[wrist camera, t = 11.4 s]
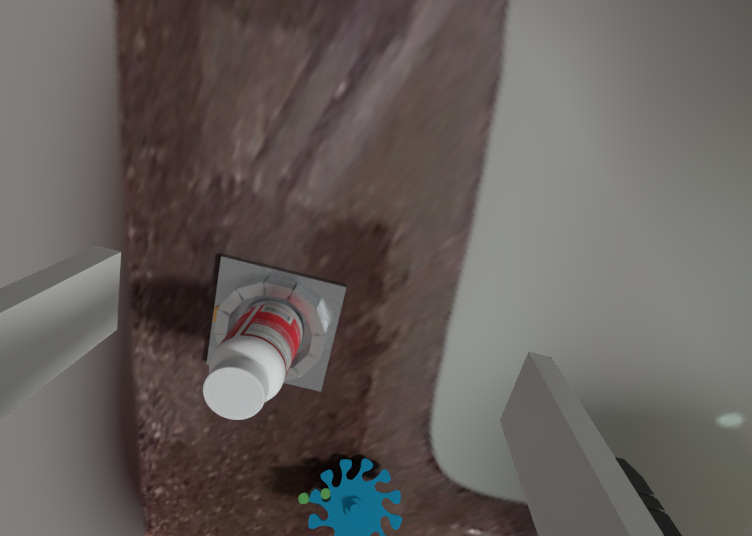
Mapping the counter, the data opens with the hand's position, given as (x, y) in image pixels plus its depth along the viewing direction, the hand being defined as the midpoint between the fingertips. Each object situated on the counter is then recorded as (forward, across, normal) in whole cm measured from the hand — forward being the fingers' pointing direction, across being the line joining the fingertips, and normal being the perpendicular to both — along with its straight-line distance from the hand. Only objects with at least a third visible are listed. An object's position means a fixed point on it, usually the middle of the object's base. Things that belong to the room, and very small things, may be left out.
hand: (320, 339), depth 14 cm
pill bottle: (+26, -6, -15) cm, 31 cm away
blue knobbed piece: (+27, +6, -32) cm, 42 cm away
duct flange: (+27, -6, -15) cm, 31 cm away
